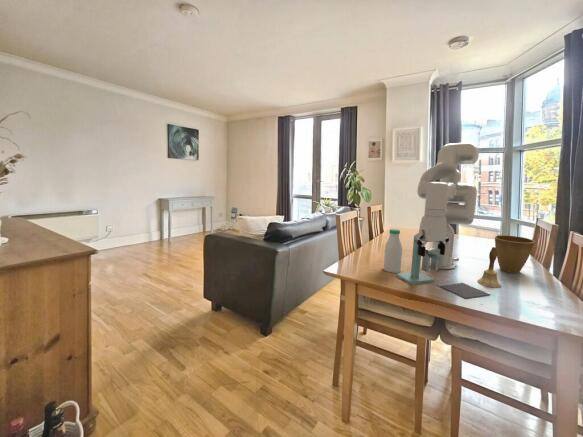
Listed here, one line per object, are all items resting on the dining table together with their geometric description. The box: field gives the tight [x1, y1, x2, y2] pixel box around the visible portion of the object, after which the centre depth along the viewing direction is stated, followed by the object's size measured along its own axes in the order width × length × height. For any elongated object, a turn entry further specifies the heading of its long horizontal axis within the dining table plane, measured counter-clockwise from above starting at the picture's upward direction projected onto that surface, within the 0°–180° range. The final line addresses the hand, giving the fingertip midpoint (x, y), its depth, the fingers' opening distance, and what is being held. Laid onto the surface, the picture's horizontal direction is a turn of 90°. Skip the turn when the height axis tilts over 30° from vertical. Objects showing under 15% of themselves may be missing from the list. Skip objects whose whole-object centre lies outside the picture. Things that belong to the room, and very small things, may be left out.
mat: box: [439, 282, 491, 300], centre depth 109 cm, size 12×12×1 cm
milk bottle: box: [383, 228, 403, 274], centre depth 131 cm, size 8×8×20 cm
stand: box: [395, 237, 440, 285], centre depth 117 cm, size 12×17×19 cm
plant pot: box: [494, 234, 536, 274], centre depth 132 cm, size 15×15×16 cm
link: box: [421, 247, 440, 273], centre depth 112 cm, size 6×2×9 cm, turn 106°
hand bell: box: [477, 246, 502, 288], centre depth 116 cm, size 8×8×16 cm
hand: (431, 254), depth 112 cm, fingers open, 9 cm apart
